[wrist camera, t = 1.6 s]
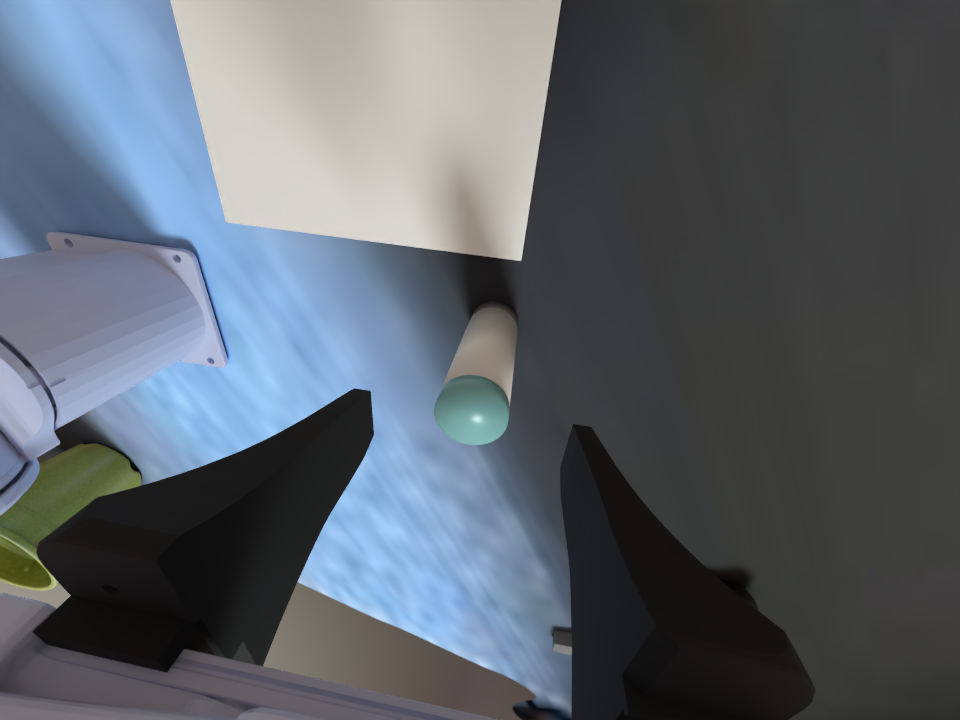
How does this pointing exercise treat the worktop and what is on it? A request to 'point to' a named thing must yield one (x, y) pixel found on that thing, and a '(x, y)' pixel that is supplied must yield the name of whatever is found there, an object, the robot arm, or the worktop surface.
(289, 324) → the worktop surface
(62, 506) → the plant pot
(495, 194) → the notepad
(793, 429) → the worktop surface
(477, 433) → the marker
